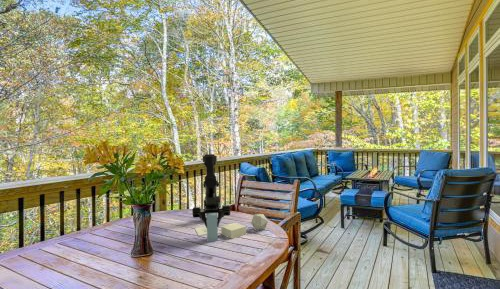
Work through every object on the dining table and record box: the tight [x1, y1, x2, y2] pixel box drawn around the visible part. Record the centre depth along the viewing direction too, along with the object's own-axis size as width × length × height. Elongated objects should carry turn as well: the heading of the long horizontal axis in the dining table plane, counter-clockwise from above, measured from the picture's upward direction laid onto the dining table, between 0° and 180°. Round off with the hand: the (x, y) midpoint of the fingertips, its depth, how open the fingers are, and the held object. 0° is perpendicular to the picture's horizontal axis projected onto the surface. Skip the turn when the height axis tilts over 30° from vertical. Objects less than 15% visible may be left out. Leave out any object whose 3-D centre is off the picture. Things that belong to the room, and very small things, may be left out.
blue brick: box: [206, 213, 219, 242], centre depth 142 cm, size 4×5×12 cm
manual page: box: [194, 226, 207, 236], centre depth 156 cm, size 12×9×1 cm
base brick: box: [220, 222, 247, 240], centre depth 149 cm, size 9×9×4 cm
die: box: [250, 213, 269, 231], centre depth 156 cm, size 8×9×10 cm
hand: (212, 227), depth 141 cm, fingers closed on blue brick, 5 cm apart
